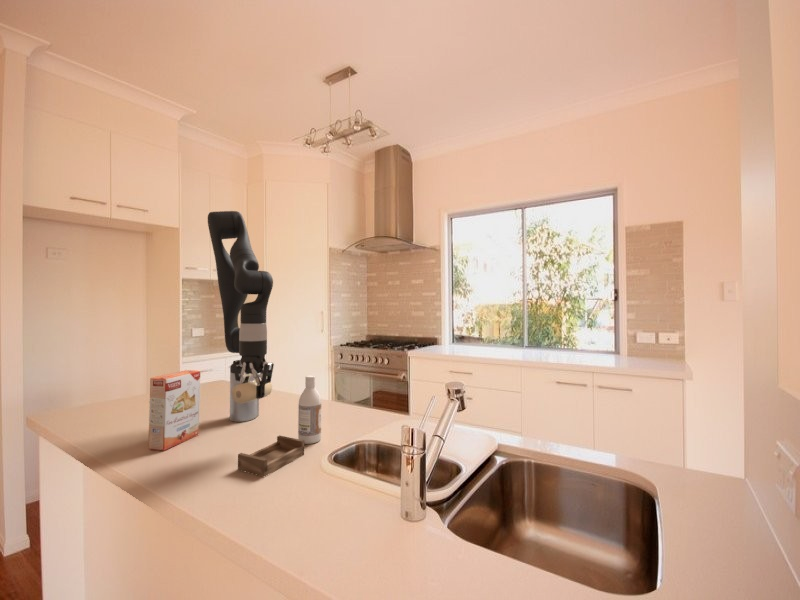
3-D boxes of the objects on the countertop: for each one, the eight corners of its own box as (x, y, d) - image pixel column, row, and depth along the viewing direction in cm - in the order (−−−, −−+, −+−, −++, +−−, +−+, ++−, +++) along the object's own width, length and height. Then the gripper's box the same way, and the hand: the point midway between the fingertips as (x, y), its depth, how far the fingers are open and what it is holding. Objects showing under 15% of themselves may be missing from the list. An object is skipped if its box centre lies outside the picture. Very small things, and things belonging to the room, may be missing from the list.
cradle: (279, 449, 109) (279, 435, 109) (304, 454, 105) (304, 440, 105) (237, 469, 96) (237, 454, 96) (264, 477, 92) (264, 460, 92)
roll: (259, 394, 114) (259, 377, 114) (272, 396, 112) (272, 379, 112) (231, 402, 105) (232, 384, 105) (245, 404, 103) (245, 385, 103)
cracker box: (165, 451, 107) (166, 378, 107) (147, 449, 108) (148, 377, 108) (200, 434, 120) (201, 370, 121) (184, 433, 122) (185, 369, 122)
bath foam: (318, 444, 113) (319, 378, 113) (295, 444, 113) (296, 378, 113) (322, 436, 120) (323, 374, 120) (301, 436, 120) (301, 374, 120)
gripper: (281, 338, 109) (280, 396, 109) (245, 336, 115) (245, 391, 115) (261, 341, 102) (261, 403, 102) (224, 338, 108) (224, 397, 108)
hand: (252, 396), depth 109 cm, fingers closed on roll, 5 cm apart
